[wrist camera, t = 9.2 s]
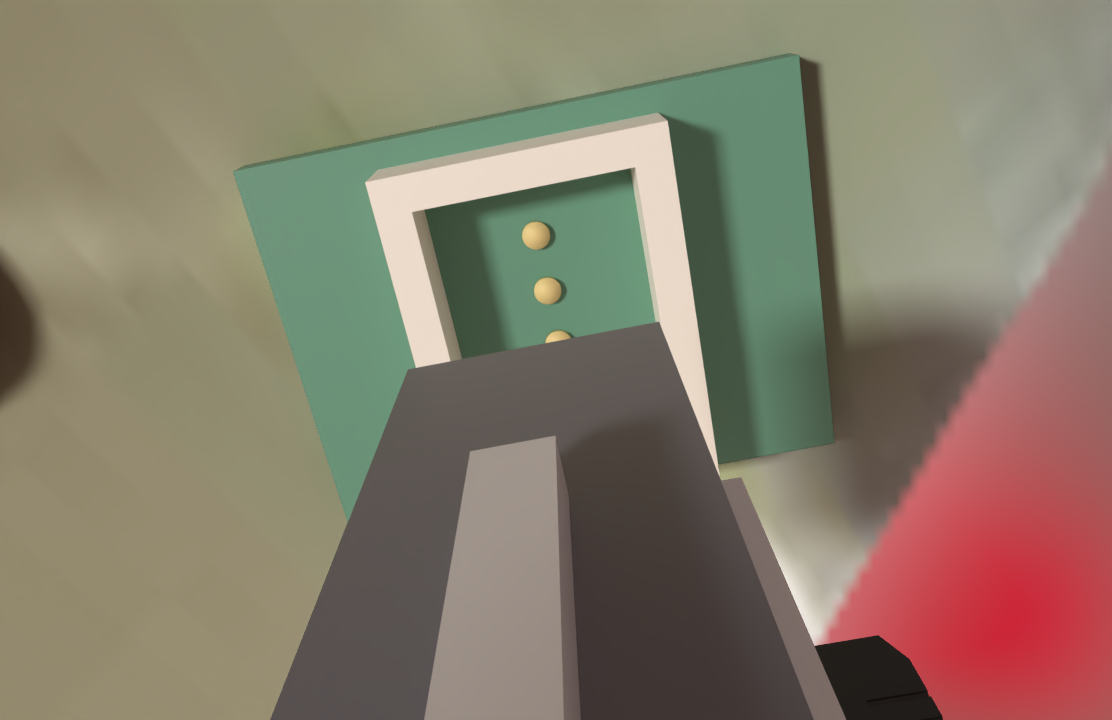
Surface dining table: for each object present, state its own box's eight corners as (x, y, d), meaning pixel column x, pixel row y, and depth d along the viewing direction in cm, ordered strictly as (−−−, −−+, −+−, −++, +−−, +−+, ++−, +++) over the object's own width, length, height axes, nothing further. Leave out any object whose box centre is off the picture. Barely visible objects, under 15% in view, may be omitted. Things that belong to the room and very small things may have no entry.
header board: (356, 515, 30) (337, 566, 28) (243, 166, 26) (208, 184, 23) (825, 429, 29) (855, 473, 27) (789, 53, 25) (820, 58, 22)
